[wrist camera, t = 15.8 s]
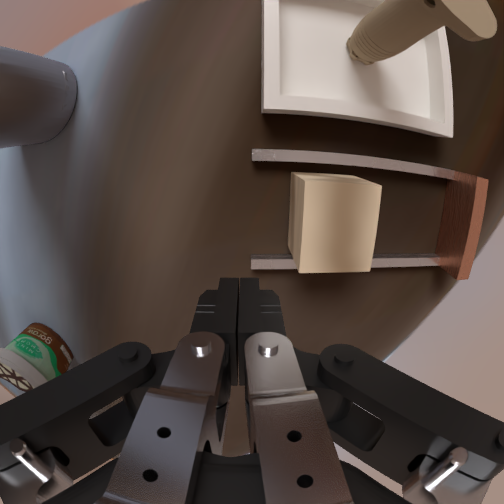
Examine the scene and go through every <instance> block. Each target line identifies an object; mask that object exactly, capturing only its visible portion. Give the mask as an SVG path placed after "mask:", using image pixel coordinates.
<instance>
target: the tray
mask: <svg viewBox="0 0 504 504" xmlns="http://www.w3.org/2000/svg"><path fill="white" fill-rule="evenodd" d="M384 1H385V0H262V90H261V113H276V114H295V115H309V116H320V117H330V118H339V119H347V120H354V121H361V122H368V123H374V124H380V125H385V126H390V127H396V128H401V129H405V130H410V131H414V132H419V133H423V134H427V135H431V136H436V137H449V138H453V94H452V78H451V67H450V58H449V50H448V43H447V37H446V31H445V26H443V27H441V28H439V29H437V30H436V31H434V32H432V33H431V34H429V35H427V36H426V37H424V38H423V39H421V40H420V41H418V42H417V43H415V44H414V45H412V46H411V47H409V48H408V49H406V50H405V51H403V52H401V53H399V54H398V55H396V56H393V57H391V58H388V59H385V60H382V61H377V62H374V64H371V65H364V64H363V63H362V62H360V61H357V60H353V59H351V57H350V56H349V54H350V52H349V49H348V47H347V46H346V42H347V40H348V38H349V37H351V35H352V33H353V31H354V29H355V28H356V26H357V25H358V24H359V22H360V21H361V20H362V19H363V18H364V17H365V16H366V15H367V14H368V13H369V12H371V11H372V10H373V9H374V8H376V7H377V6H379V5H380V4H381V3H383V2H384Z"/></svg>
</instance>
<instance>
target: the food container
mask: <svg viewBox="0 0 504 504" xmlns="http://www.w3.org/2000/svg"><path fill="white" fill-rule="evenodd" d="M72 359H73V355H72V352H71V350H70V349H69V347H68V346H67V344H66V343H65V341H64V340H63V339H62V338H61V337H60V336H59V335H58V334H57V333H56V332H55V331H53V330H52V329H51V328H49V327H47V326H46V325H43V324H41V323H32V324H30V325H29V326H28V327H27V328H26V329H25V330H24V331H23V332H22V333H21V334H19V335H18V336H17V337H16V338H15V339H14V340H13V341H12V342H11V343H10V344H9V345H8V346H7V347H6V348H5V349H4V348H0V378H3V379H5V380H7V381H8V382H10V383H11V384H13V385H14V386H15V387H17V388H18V389H20V390H22V391H25V392H28V391H30V390H32V389H34V388H36V387H38V386H40V385H42V384H44V383H46V382H48V381H50V380H52V379H54V378H55V377H57V376H59V375H61V374H63V373H65V372H67V369H68V367H69V365H70V363H71V361H72Z"/></svg>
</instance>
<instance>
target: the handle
mask: <svg viewBox="0 0 504 504" xmlns="http://www.w3.org/2000/svg"><path fill="white" fill-rule="evenodd" d="M443 26H447V27H449V28H450V29H451V30H453V31H454V32H455V33H457V34H458V35H460V36H461V37H462V38H464V39H465V40H469V41H479V40H483V39H487V38H490V37H492V36H494V34H495V33H496V30H497V22H496V19H495V16H494V14H493V12H492V10H491V8H490V6H489V5H488V3H487V1H486V0H385V1H384V2H383V3H381V4H380V5H379V6H377V7H376V8H374V9H373V10H372V11H371V12H369V13H368V14H367V15H366V16H365V17H364V18H363V19H362V20H361V21H360V22H359V24H358V25H357V26H356V28H355V29H354V31H353V33H352V35H351V37H349V38H348V40H347V42H346V46H347V47H348V49H349V52H350V54H349V56H350V57H351V59H353V60H357V61H360V62H362V63H363V64H364V65H371V64H374V62H377V61H382V60H385V59H388V58H391V57H393V56H396V55H398V54H399V53H401V52H403V51H405V50H406V49H408V48H409V47H411V46H412V45H414V44H415V43H417V42H418V41H420V40H421V39H423V38H424V37H426V36H427V35H429V34H431V33H432V32H434V31H436V30H437V29H439V28H441V27H443Z"/></svg>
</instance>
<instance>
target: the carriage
mask: <svg viewBox="0 0 504 504" xmlns="http://www.w3.org/2000/svg"><path fill="white" fill-rule="evenodd" d="M381 190H382V186H381V185H378V184H376V183H373V182H370V181H367V180H365V179H362V178H359V177H356V176H353V175H340V174H324V173H305V172H291V188H290V212H289V233H288V247H289V250H290V252H291V254H292V257H293V259H294V262H295V264H296V267H297V269H298V272H299V273H333V272H370V268H371V263H372V257H373V251H374V245H375V238H376V232H377V224H378V217H379V209H380V200H381Z"/></svg>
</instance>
